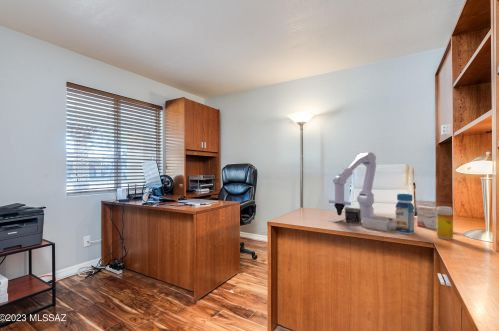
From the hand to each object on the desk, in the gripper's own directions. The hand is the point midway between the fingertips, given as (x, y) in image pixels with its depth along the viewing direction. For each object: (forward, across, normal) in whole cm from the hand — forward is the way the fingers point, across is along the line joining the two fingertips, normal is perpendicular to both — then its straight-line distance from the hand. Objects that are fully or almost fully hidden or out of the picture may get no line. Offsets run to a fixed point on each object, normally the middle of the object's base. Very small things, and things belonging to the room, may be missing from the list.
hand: (339, 215), depth 157 cm
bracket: (+3, +24, 0) cm, 24 cm away
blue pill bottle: (+3, +38, -2) cm, 38 cm away
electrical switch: (+3, +9, 0) cm, 10 cm away
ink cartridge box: (+3, +42, +21) cm, 47 cm away
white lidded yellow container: (+3, +54, +1) cm, 54 cm away
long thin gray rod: (+3, +2, 0) cm, 4 cm away
